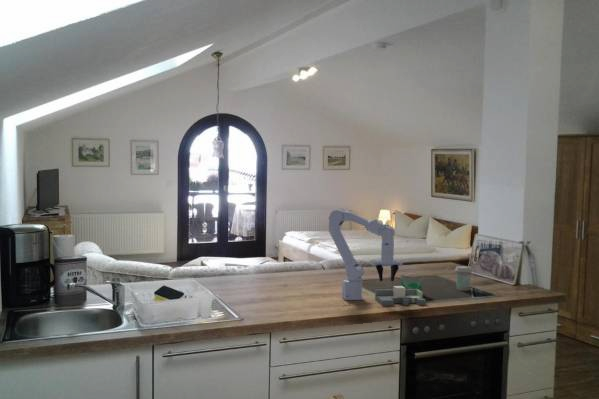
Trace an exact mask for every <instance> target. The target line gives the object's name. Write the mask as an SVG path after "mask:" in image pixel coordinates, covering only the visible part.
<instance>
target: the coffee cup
mask: <svg viewBox="0 0 599 399" xmlns="http://www.w3.org/2000/svg"><path fill="white" fill-rule="evenodd" d="M454 271H455V278H456V280H455V282H456V289H457V291H462V292H467V291H469V288H470V283H471V277H472V276H471V275H472V272H473V270H472V267H471V266H467V265H457V266H455V269H454Z"/></svg>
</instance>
